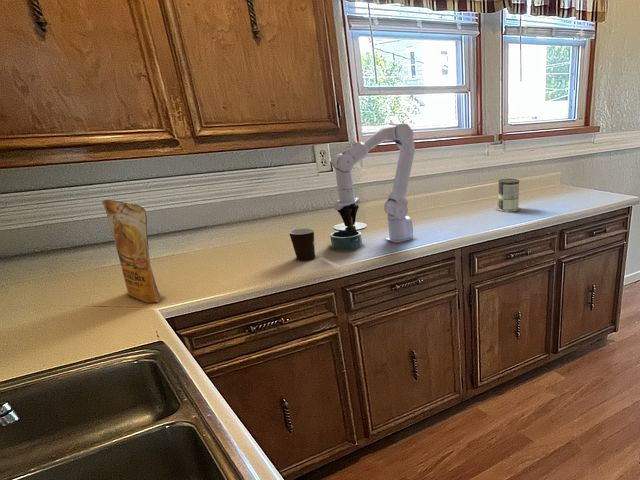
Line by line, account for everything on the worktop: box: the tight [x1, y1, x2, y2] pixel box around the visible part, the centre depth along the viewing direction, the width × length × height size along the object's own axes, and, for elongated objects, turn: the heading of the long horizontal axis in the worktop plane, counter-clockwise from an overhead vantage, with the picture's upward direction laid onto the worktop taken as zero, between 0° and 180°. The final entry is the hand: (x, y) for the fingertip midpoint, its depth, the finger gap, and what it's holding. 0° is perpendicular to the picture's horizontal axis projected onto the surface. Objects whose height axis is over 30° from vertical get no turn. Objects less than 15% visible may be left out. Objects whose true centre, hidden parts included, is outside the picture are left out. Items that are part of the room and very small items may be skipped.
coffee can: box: [497, 178, 520, 213], centre depth 257 cm, size 10×10×14 cm
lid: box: [332, 216, 368, 232], centre depth 198 cm, size 13×13×5 cm
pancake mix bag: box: [101, 199, 162, 304], centre depth 152 cm, size 7×19×28 cm, turn 56°
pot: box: [329, 230, 363, 251], centre depth 202 cm, size 12×17×5 cm
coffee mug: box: [288, 227, 316, 262], centre depth 190 cm, size 12×9×10 cm
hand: (350, 225), depth 198 cm, fingers closed on lid, 2 cm apart
